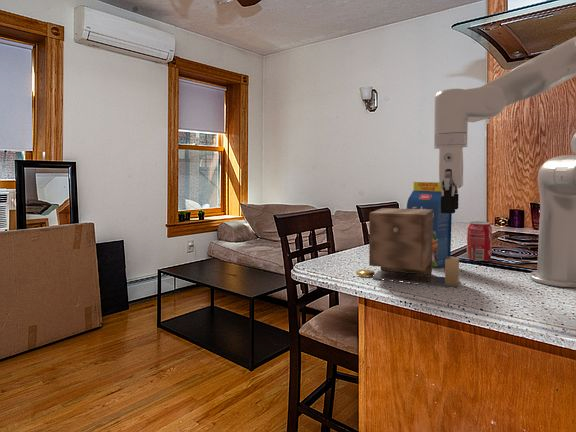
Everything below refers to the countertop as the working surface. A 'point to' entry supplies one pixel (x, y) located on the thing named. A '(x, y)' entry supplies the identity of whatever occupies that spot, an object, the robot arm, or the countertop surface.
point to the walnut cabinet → (401, 240)
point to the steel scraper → (447, 281)
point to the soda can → (479, 241)
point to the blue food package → (434, 218)
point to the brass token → (365, 272)
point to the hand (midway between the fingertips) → (449, 211)
